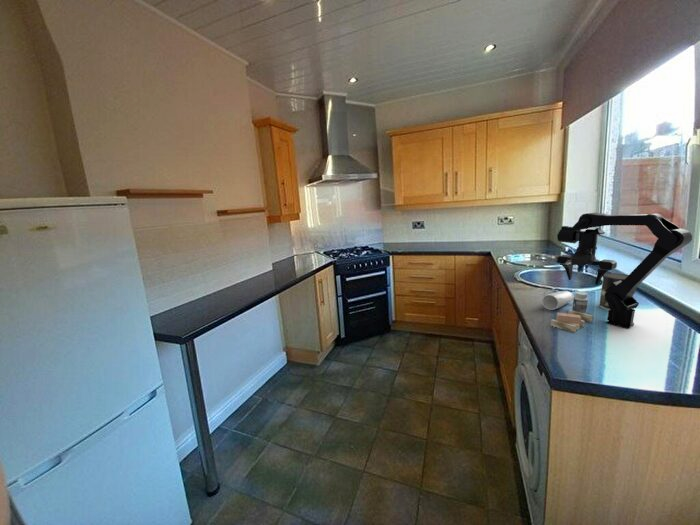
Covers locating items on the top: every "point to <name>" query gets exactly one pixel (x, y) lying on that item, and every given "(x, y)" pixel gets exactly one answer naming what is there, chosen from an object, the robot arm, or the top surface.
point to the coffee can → (606, 283)
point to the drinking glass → (557, 299)
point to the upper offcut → (569, 318)
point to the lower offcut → (575, 325)
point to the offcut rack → (569, 326)
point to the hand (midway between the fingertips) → (582, 282)
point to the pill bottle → (580, 302)
